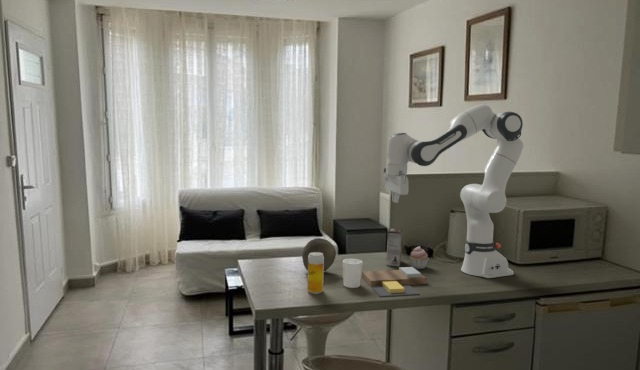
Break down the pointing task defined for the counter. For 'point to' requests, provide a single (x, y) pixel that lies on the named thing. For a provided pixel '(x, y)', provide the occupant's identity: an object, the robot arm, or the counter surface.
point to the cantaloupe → (321, 247)
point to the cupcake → (418, 258)
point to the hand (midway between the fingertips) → (395, 202)
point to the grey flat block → (409, 272)
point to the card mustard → (393, 287)
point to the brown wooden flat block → (391, 278)
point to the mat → (384, 293)
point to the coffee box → (394, 246)
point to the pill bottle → (315, 272)
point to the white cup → (352, 272)
